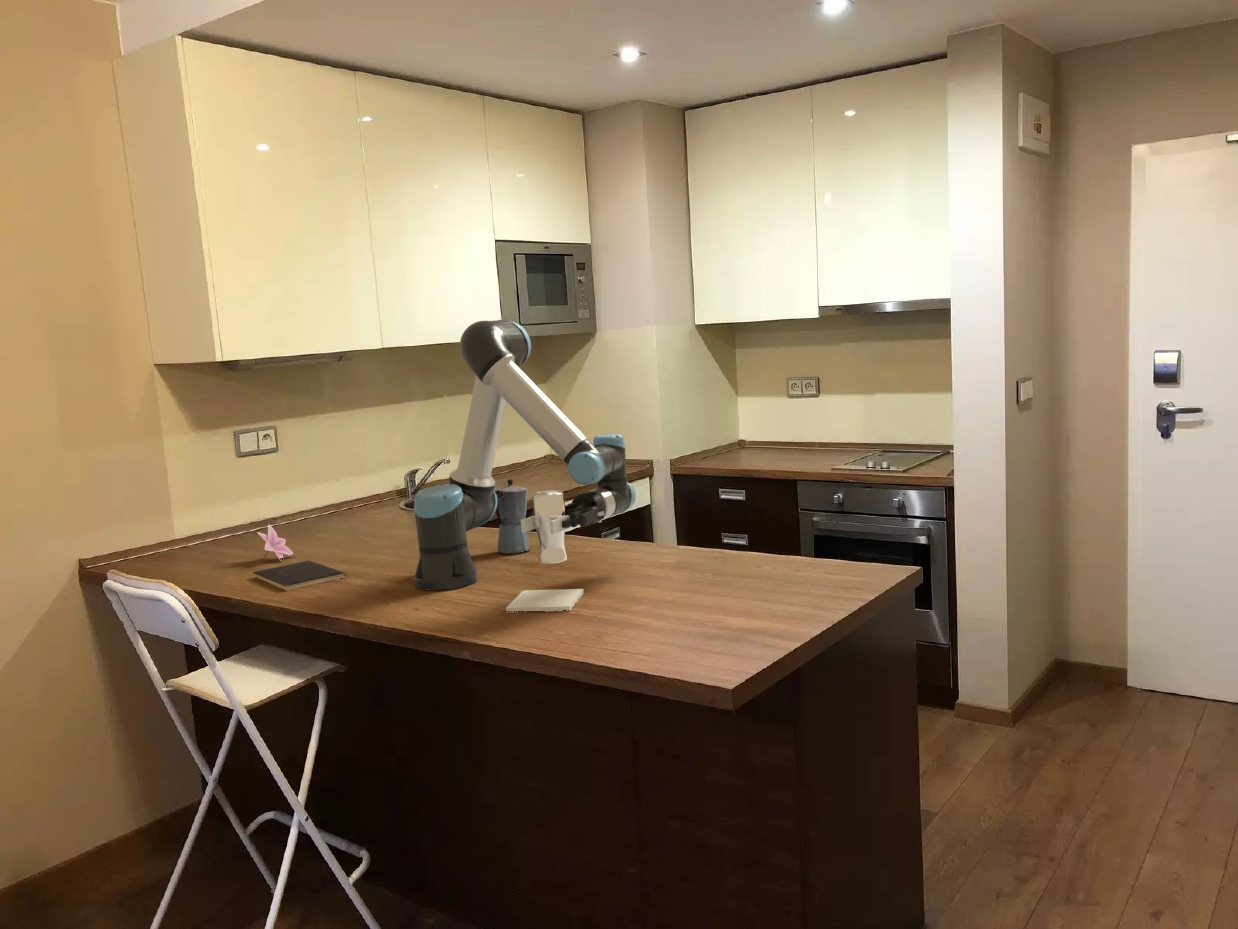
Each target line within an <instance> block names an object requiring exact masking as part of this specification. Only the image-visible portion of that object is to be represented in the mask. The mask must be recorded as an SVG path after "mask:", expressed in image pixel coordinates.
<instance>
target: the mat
mask: <svg viewBox="0 0 1238 929" xmlns="http://www.w3.org/2000/svg"><path fill="white" fill-rule="evenodd" d="M584 591H585V590H584V588H567V589H566V588H565V589H561V588H560V589H530V590H526V589H525V590H522V591H521V592H520V593H519V594H518V595H517V596H516V597H515V598H514V599H513V600H512V601H511V602H510V603H509V604H508V605H507V606H506V607H505V612H506V611H510V612H509V613H519V612H518V611H525V612H524V613H527V612H526V611H545V612H564V611H563V610H566V611H565V612H569V611H568V610H570V611H571V610H573V608H574V606H575V605H576V604H577V603H578V601H579V600H580V599H581V597H582V596H583V595H584ZM578 599H579V600H578ZM575 603H576V604H575ZM572 607H573V608H572ZM555 610H556V611H555ZM511 611H512V612H511ZM513 611H515V612H513ZM516 611H517V612H516Z"/></svg>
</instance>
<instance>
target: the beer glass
mask: <svg viewBox="0 0 1238 929" xmlns="http://www.w3.org/2000/svg"><path fill="white" fill-rule="evenodd" d="M565 505H566V504H565V496H564V491H563V490H558V489H554V490H553V489H552V490H542V491H541V490H540V491H537V492H534V493H532V512H533V514H534V521H535V526H536V529H535V530H536V533H537V537H538V538H537V539H538V542H539V563H541V564H544V565H545V564H546V565H547V564H551V565H552V564H560V563H563V562H565V561H567V560H568V556H567V552H566V549H565V548H566V547H565V533H566V529H565V530H563V531H560V532H558V533H555V534H551V530H550V521H552V520H555V519H557V518H560V517H564V516H566V511H565Z"/></svg>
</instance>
